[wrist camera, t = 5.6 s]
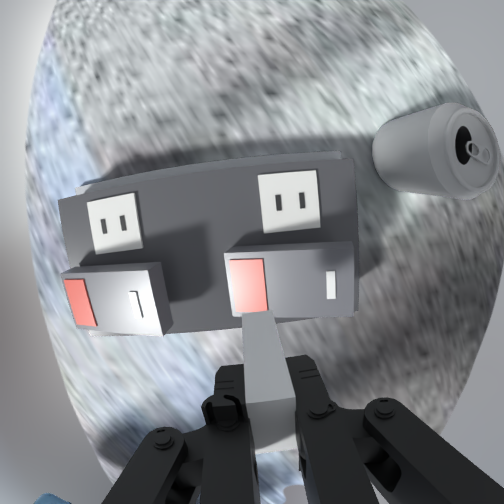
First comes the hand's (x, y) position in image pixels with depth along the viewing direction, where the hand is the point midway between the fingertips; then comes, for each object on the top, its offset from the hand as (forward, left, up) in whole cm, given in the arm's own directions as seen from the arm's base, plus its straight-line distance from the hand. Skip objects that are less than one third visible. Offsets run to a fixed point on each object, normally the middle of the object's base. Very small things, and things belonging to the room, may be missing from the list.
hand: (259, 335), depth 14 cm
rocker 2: (0, -3, -8) cm, 8 cm away
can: (+9, -16, -14) cm, 24 cm away
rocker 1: (0, +11, -8) cm, 13 cm away
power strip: (+2, +4, -14) cm, 15 cm away
